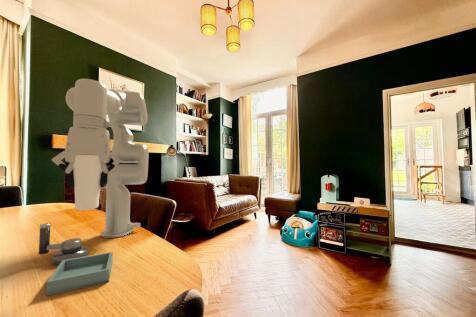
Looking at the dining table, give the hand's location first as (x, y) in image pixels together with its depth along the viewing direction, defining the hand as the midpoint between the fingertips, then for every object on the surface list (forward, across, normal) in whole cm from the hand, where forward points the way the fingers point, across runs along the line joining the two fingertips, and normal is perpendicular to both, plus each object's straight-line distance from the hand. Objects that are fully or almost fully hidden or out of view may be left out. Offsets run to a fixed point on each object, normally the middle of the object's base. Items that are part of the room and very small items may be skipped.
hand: (87, 186), depth 56 cm
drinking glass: (+6, 0, 0) cm, 6 cm away
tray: (+25, 0, 0) cm, 25 cm away
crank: (+22, +9, -15) cm, 28 cm away
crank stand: (+25, +7, -18) cm, 32 cm away
